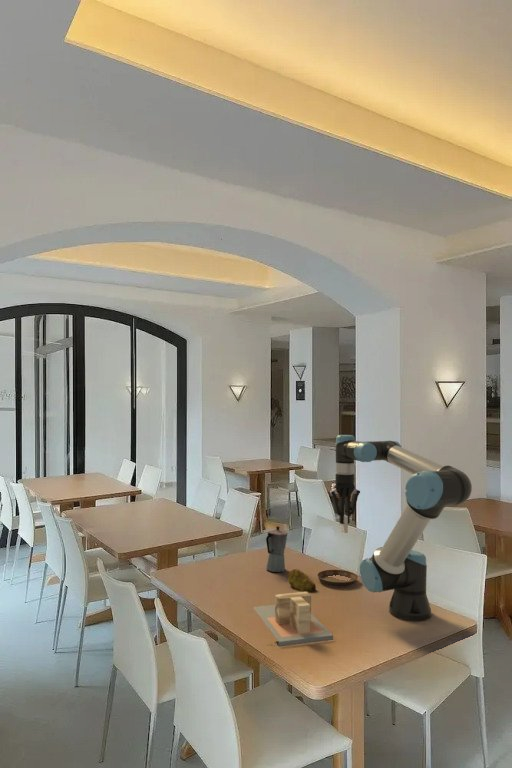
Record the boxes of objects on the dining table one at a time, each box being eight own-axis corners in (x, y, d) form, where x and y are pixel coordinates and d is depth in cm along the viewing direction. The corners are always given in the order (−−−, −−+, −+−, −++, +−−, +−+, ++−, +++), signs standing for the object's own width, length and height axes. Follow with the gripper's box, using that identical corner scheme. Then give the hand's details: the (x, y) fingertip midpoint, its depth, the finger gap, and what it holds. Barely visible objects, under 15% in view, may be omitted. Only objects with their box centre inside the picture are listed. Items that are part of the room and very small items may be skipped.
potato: (301, 597, 214) (301, 577, 215) (284, 587, 226) (284, 568, 226) (318, 594, 218) (318, 574, 218) (300, 584, 230) (301, 566, 230)
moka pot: (292, 567, 253) (293, 525, 254) (276, 576, 240) (276, 531, 241) (275, 564, 258) (275, 522, 259) (258, 572, 245) (258, 528, 246)
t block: (274, 620, 188) (275, 594, 188) (306, 616, 191) (306, 591, 192) (287, 635, 176) (287, 607, 177) (320, 630, 180) (320, 603, 180)
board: (252, 611, 200) (252, 607, 200) (299, 606, 205) (299, 602, 205) (278, 646, 171) (278, 641, 171) (333, 639, 177) (333, 635, 177)
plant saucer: (310, 578, 239) (310, 571, 240) (344, 574, 246) (344, 567, 246) (329, 591, 223) (329, 583, 223) (365, 586, 229) (365, 579, 229)
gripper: (355, 471, 222) (354, 529, 221) (326, 472, 218) (325, 530, 217) (363, 474, 215) (363, 533, 214) (334, 474, 211) (333, 535, 210)
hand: (344, 531), depth 215 cm, fingers closed
